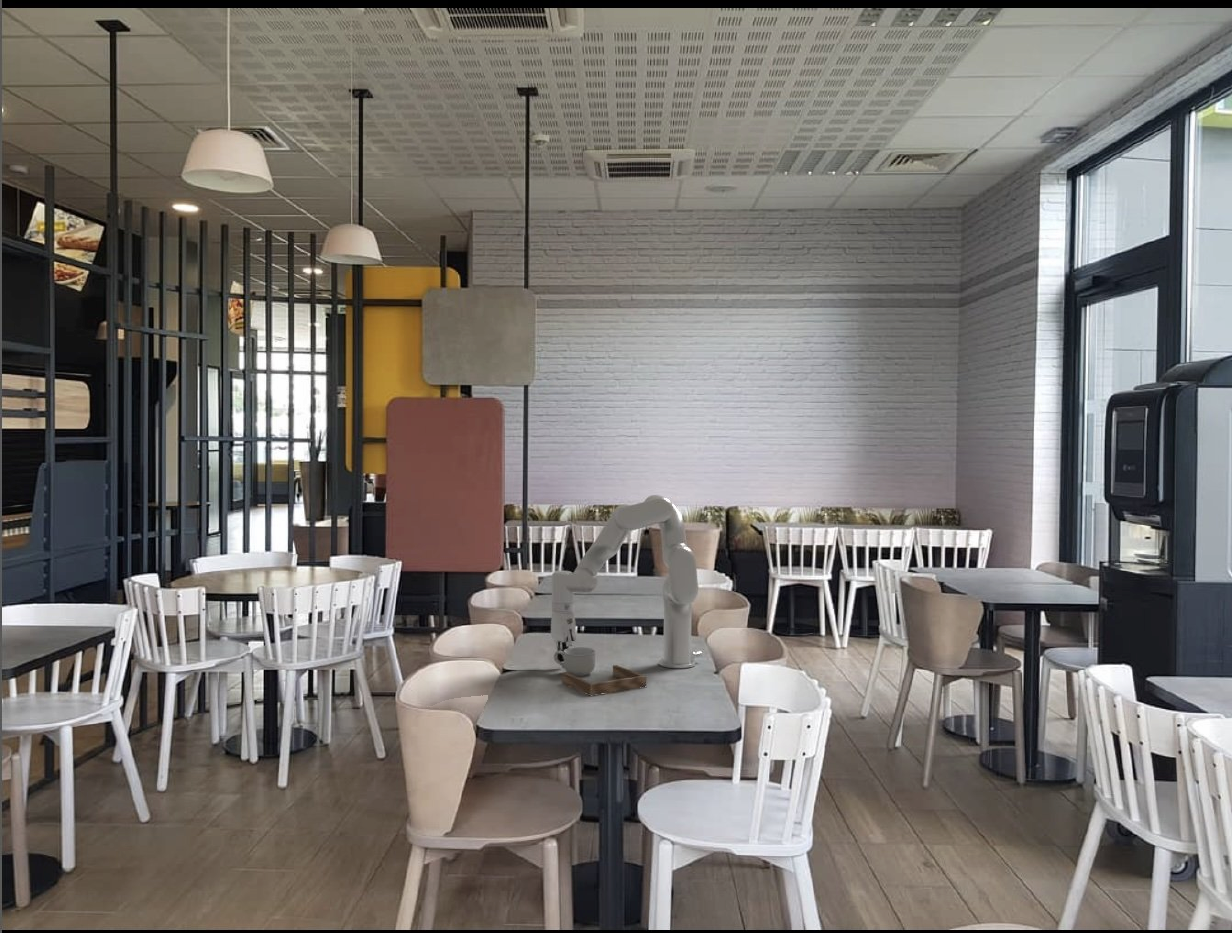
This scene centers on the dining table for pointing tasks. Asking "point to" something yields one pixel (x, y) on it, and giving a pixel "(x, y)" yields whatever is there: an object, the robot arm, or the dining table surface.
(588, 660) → the teacup
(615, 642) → the dining table surface
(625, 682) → the corral
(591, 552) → the robot arm
